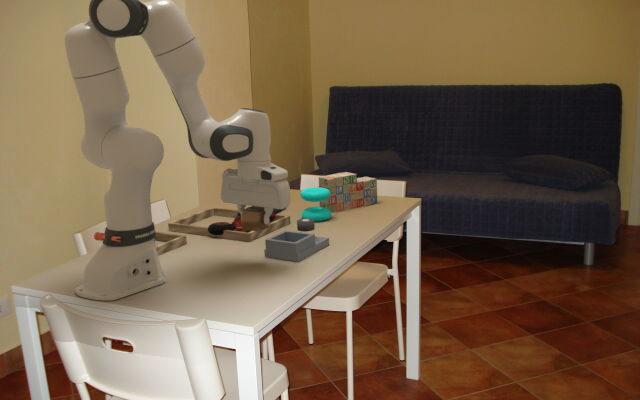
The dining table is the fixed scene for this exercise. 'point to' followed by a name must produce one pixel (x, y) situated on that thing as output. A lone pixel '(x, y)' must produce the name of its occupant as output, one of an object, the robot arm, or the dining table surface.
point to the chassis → (293, 245)
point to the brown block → (253, 219)
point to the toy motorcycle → (230, 225)
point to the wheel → (305, 225)
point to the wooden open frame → (184, 227)
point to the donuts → (315, 196)
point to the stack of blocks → (348, 191)
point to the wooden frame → (169, 241)
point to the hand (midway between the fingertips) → (255, 222)
